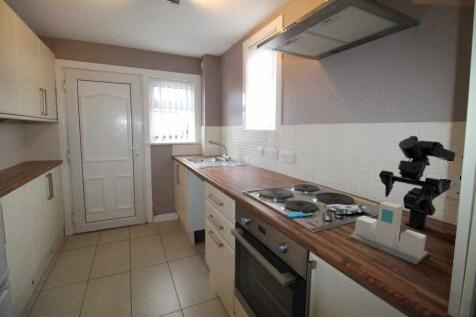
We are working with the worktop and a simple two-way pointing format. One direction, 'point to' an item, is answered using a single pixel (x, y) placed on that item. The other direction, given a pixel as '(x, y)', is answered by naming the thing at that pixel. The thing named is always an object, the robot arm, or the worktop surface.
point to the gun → (346, 207)
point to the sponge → (296, 215)
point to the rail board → (405, 249)
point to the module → (389, 223)
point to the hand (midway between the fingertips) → (400, 199)
